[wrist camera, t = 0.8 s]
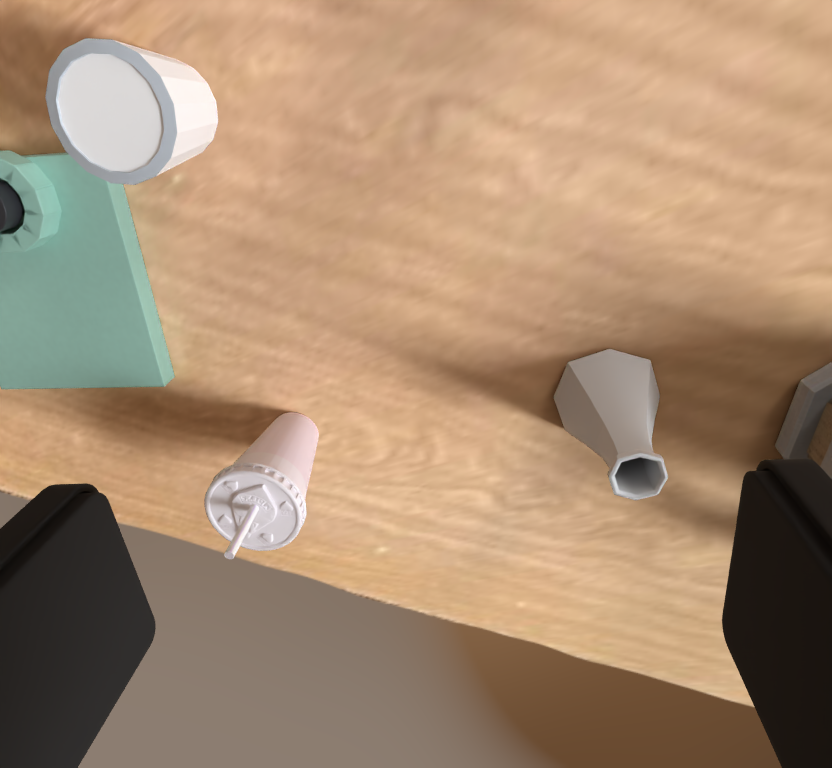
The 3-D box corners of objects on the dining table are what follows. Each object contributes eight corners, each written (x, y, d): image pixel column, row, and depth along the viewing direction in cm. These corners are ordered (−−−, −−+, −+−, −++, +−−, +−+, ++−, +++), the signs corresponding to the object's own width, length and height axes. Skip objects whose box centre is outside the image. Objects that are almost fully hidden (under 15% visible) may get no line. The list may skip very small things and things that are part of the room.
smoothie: (348, 417, 45) (297, 544, 33) (320, 479, 48) (263, 618, 36) (268, 383, 45) (185, 499, 32) (244, 448, 48) (160, 578, 35)
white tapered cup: (95, 88, 37) (16, 89, 30) (177, 19, 35) (111, 5, 28) (169, 189, 39) (109, 209, 33) (250, 131, 37) (203, 140, 31)
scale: (-74, 154, 39) (-121, 160, 36) (111, 141, 38) (78, 147, 35) (16, 379, 47) (-17, 400, 44) (175, 376, 45) (152, 398, 42)
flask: (551, 439, 44) (569, 528, 35) (554, 348, 41) (574, 421, 32) (653, 438, 44) (697, 529, 35) (664, 345, 40) (716, 420, 31)
